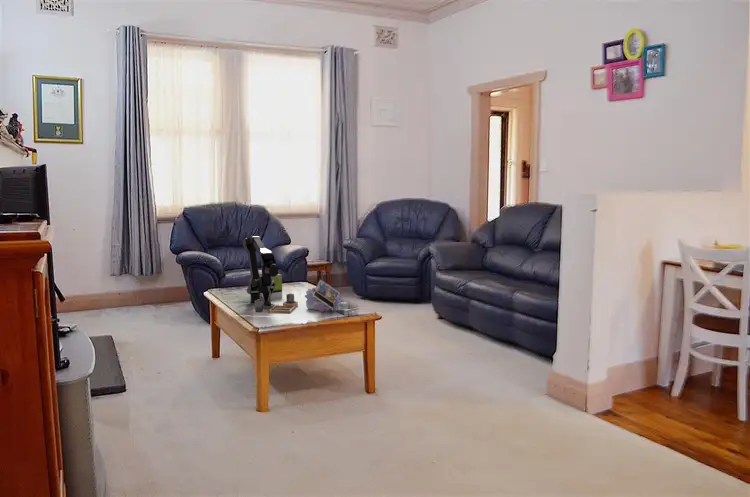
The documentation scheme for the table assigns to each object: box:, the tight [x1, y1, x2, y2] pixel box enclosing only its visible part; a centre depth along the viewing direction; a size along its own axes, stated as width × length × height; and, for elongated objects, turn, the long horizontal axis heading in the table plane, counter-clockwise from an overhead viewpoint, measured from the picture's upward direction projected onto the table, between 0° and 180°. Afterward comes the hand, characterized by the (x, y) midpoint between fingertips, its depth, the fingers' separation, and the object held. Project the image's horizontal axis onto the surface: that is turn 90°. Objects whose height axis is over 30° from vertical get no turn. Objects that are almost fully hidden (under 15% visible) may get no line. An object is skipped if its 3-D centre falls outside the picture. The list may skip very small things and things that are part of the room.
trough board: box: [268, 304, 296, 314], centre depth 356 cm, size 14×12×2 cm
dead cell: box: [285, 292, 295, 303], centre depth 367 cm, size 4×4×8 cm
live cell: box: [262, 292, 272, 306], centre depth 363 cm, size 4×4×8 cm
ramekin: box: [282, 300, 299, 308], centre depth 367 cm, size 8×8×3 cm
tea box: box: [259, 272, 283, 300], centre depth 399 cm, size 15×10×15 cm, turn 37°
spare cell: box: [254, 298, 264, 313], centre depth 352 cm, size 4×4×8 cm
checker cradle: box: [263, 303, 282, 311], centre depth 363 cm, size 12×10×2 cm
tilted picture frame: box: [304, 279, 342, 313], centre depth 361 cm, size 20×22×18 cm
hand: (267, 301), depth 363 cm, fingers closed on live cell, 4 cm apart
